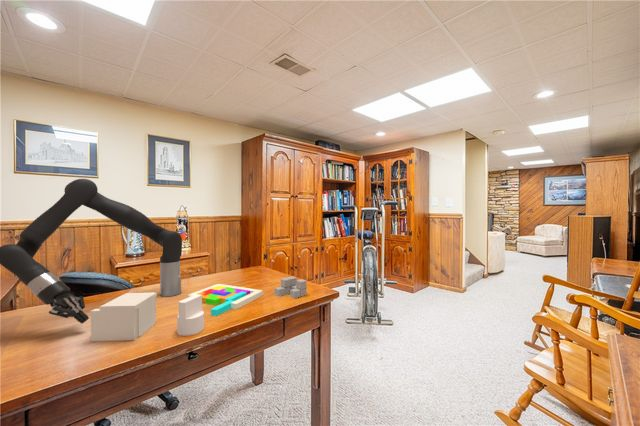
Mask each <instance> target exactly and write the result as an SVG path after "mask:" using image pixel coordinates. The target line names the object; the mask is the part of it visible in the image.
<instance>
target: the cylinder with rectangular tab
mask: <svg viewBox="0 0 640 426" xmlns="http://www.w3.org/2000/svg"><path fill="white" fill-rule="evenodd" d="M176 319H177V320H176V324H177V325H176V327H177V329H176V332H177V335H179V336H183V337H185V336H186V337H187V336H192V335H196V334H199V333H202V331H203V330H204V329H205V313H204V310H203V303H202V295H199V294H195V295H193V296H191V297H188V298H187V297H186V298H183V299H181V300H179V301H178V313H177V316H176Z"/></svg>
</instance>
